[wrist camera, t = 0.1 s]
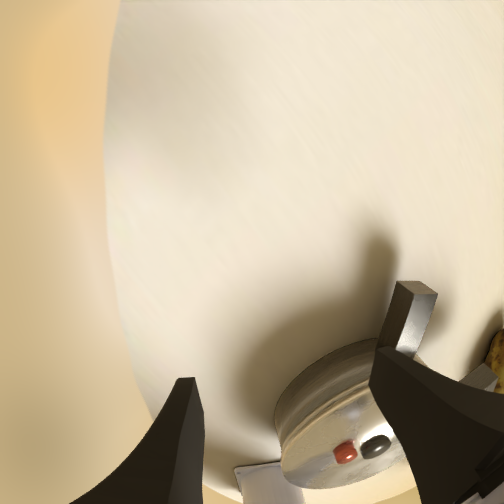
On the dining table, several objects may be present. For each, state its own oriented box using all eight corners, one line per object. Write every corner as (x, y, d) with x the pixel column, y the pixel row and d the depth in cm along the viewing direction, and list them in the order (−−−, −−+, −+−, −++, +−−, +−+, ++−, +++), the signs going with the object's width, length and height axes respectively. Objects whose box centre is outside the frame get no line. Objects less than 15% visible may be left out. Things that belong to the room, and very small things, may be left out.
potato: (515, 322, 27) (549, 347, 20) (476, 392, 31) (502, 421, 23) (493, 321, 26) (533, 351, 18) (448, 400, 29) (477, 435, 22)
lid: (302, 496, 23) (307, 514, 20) (252, 428, 17) (257, 458, 15) (467, 413, 23) (478, 426, 20) (494, 305, 17) (514, 319, 15)
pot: (386, 433, 29) (401, 460, 24) (262, 453, 26) (269, 488, 22) (458, 274, 22) (492, 295, 17) (301, 268, 20) (326, 301, 15)
